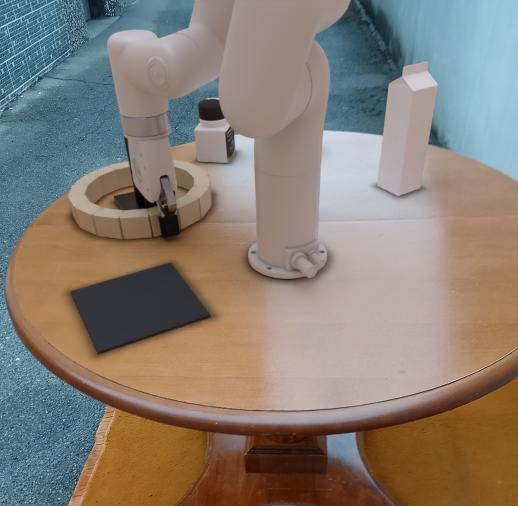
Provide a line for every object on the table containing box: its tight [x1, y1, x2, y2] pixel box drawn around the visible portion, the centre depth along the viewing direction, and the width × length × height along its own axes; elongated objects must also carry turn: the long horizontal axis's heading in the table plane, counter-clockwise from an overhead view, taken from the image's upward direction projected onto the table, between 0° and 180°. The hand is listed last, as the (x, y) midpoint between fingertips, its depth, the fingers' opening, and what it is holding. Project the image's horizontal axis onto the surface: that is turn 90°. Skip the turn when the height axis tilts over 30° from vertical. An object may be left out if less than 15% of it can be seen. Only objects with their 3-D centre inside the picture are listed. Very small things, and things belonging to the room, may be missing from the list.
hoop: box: [67, 159, 213, 240], centre depth 101 cm, size 26×26×4 cm
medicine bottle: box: [193, 97, 236, 164], centre depth 116 cm, size 7×7×12 cm
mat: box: [70, 262, 211, 355], centre depth 78 cm, size 16×16×1 cm
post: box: [113, 135, 166, 210], centre depth 98 cm, size 9×9×13 cm
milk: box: [376, 61, 439, 197], centre depth 98 cm, size 6×6×22 cm
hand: (163, 226), depth 94 cm, fingers open, 6 cm apart
